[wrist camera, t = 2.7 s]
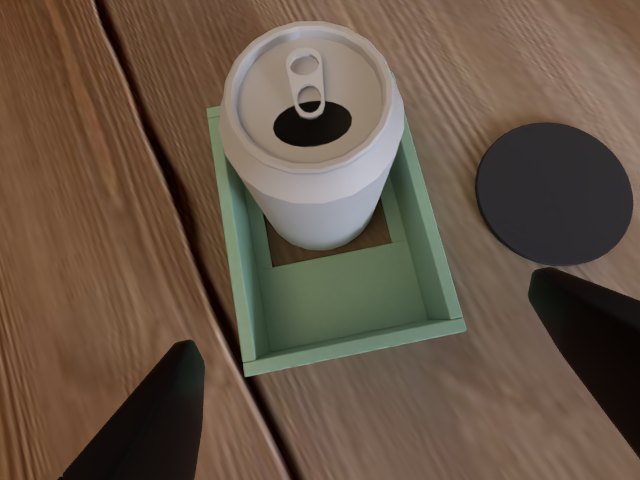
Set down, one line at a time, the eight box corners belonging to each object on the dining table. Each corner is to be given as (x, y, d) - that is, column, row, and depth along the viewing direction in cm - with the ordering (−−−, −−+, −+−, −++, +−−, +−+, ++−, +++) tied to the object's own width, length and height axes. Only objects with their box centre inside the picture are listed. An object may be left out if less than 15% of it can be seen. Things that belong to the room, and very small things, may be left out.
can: (271, 260, 23) (210, 203, 12) (260, 157, 25) (196, 15, 13) (383, 245, 23) (435, 170, 12) (365, 142, 25) (393, -13, 13)
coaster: (587, 296, 22) (591, 296, 22) (447, 211, 24) (449, 209, 23) (653, 173, 24) (658, 170, 23) (518, 101, 25) (521, 97, 25)
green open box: (440, 328, 22) (467, 331, 18) (262, 365, 22) (244, 377, 18) (382, 113, 25) (393, 70, 21) (227, 144, 25) (205, 107, 21)
